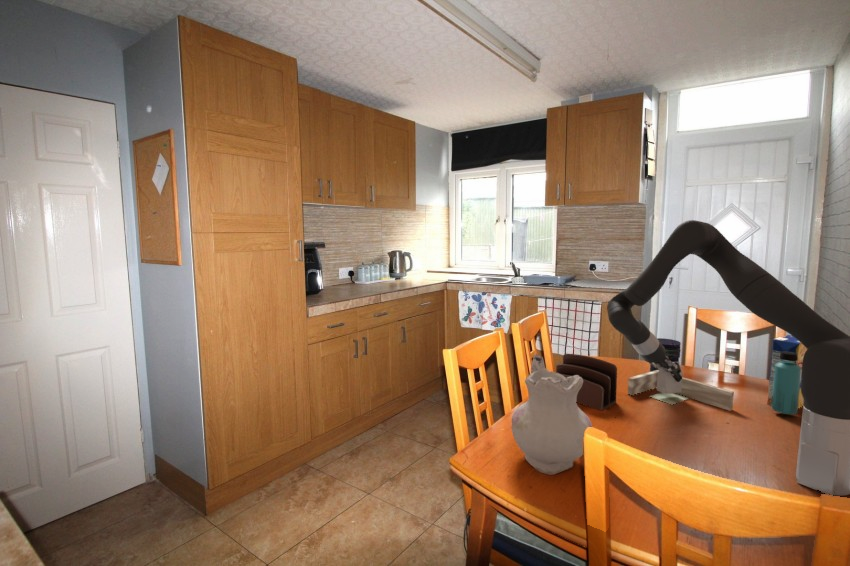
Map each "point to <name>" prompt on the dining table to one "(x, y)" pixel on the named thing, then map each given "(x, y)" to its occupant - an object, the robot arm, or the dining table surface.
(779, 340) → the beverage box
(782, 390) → the beverage bottle
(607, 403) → the letter holder
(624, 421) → the dining table surface
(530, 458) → the ceramic pitcher
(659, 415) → the dining table surface
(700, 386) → the beige l-shaped piece
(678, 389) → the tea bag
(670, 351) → the storage jar
